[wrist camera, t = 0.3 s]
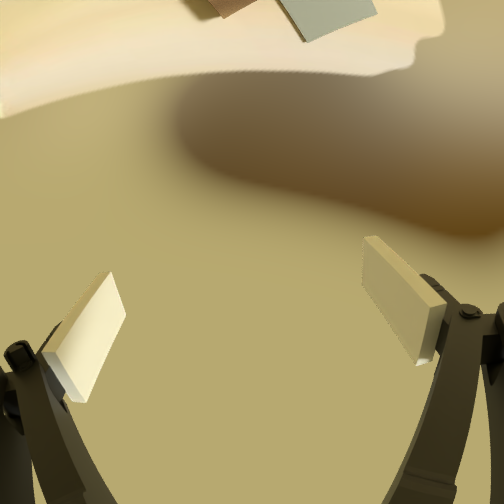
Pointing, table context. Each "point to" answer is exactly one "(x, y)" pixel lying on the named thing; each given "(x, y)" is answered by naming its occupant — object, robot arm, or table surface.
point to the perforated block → (229, 6)
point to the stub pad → (326, 15)
